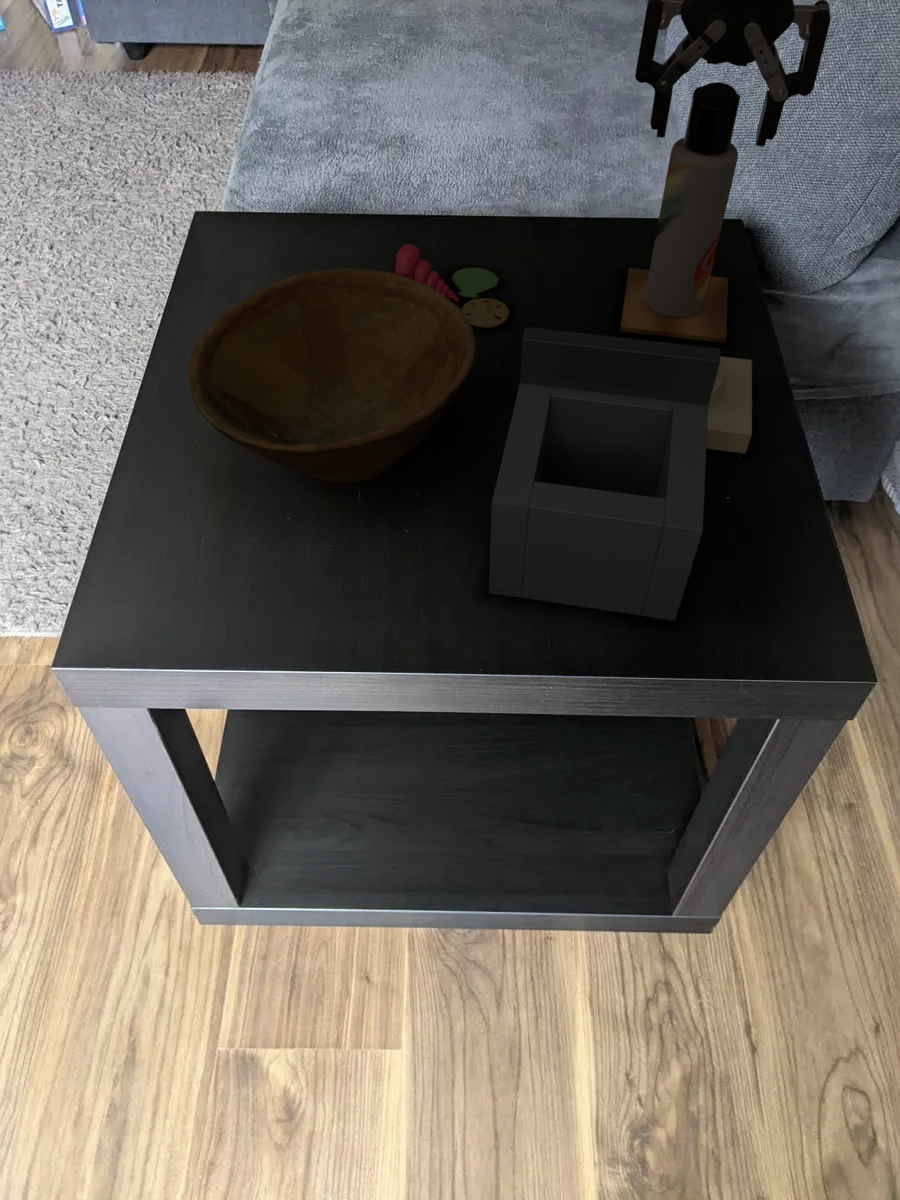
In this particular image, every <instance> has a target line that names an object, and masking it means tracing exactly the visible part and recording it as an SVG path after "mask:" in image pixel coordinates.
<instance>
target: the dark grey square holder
mask: <svg viewBox="0 0 900 1200" xmlns="http://www.w3.org/2000/svg"><path fill="white" fill-rule="evenodd" d="M521 343H522V344H521V345H522V346H521V356H520V357H521V358H520V359H521V360H520V374H519V384H518V390H517V394H516V399H515V402H514V407H513V411H512V415H511V420H510V423H509V428H508V432H507V435H506V441H505V444H504V450H503V453H502V457H501V462H500V466H499V470H498V475H497V479H496V483H495V488H494V492H493V495H492V499H491V519H490V542H489V543H490V547H489V569H488V571H489V573H488V575H489V576H488V594H493V595H499V596H507V597H513V598H519V599H520V598H522V599H528V600H535V601H541V602H548V603H553V604H554V603H555V604H561V605H568V606H574V607H581V608H589V609H594V610H599V611H600V610H602V611H608V612H614V613H621V614H628V615H635V616H641V617H648V618H653V619H661V620H667V621H673V622H674V621H676V620H677V617H678V613H679V610H680V606H681V603H682V599H683V596H684V593H685V590H686V587H687V584H688V581H689V577H690V574H691V571H692V567H693V565H694V560H695V557H696V555H697V551H698V548H699V545H700V541H701V538H702V534H703V531H704V515H705V514H704V513H705V511H704V510H705V491H706V489H705V488H706V468H707V467H706V466H707V465H706V464H707V449H706V448H707V425H708V404H709V401H710V398H711V394H712V390H713V387H714V383H715V379H716V376H717V372H718V368H719V364H720V356H721V351H722V350H721V348H719V347H718V348H717V347H710V346H709V347H708V346H699V345H691V344H681V343H672V342H662V341H654V340H646V339H635V338H628V337H619V336H609V335H603V334H602V335H601V334H593V333H583V332H575V331H574V332H573V331H565V330H558V329H557V330H556V329H548V328H537V327H528V326H526V327H525V328H524V331H523V336H522V342H521Z"/></svg>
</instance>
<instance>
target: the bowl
mask: <svg viewBox="0 0 900 1200" xmlns="http://www.w3.org/2000/svg"><path fill="white" fill-rule="evenodd" d="M476 344H477V343H476V339H475V333H474V329H473V327H472V325H471V324H470V322H469V320H468V318H467V317H466V316H465V314H464V313H463V312H462V308H460V307H459V306H458V305H457V304H456V303H454V302H453V301H451V300H449V299H448V298H447V297H446V296H444V295H442V294H440V293H438V292H437V291H436V290H434V289H432V288H430V287H428V286H426V285H425V284H422V283H419V282H417V281H414V280H412V279H410V278H407V277H404V276H401V275H398V274H395V272H394V273H393V272H390V271H385V270H377V269H369V268H368V269H367V268H350V267H348V268H347V267H346V268H333V269H320V270H315V271H310V272H304V273H298V274H294V275H291V276H288V277H285V278H283V279H281V280H278V281H275V282H273V283H271V284H269V285H268V286H265V287H263V288H261V289H259V290H258V291H256V292H254V293H252V294H250V295H248V296H247V297H245V298H243V299H241V300H240V301H239V302H238V303H236V304H235V305H234V306H232V307H230V308H229V309H228V310H227V311H226V312H225V313H223V314H222V315H221V316H219V317H218V318H217V319H216V320H215V321H214V322H213V324H212V326H211V327H210V328H207V329H206V330H204V332H203V333H202V334H201V336H200V337H199V339H198V341H197V344H196V345H195V346H194V348H193V350H192V352H191V354H190V355H191V356H190V358H189V361H188V367H187V368H188V369H187V380H188V384H189V387H190V394H191V396H192V399H193V402H194V404H195V406H196V408H197V409H198V411H199V413H200V415H201V416H202V417H203V418H204V420H206V421H207V422H208V423H209V425H211V427H213V429H215V430H216V431H217V432H218V433H220V434H221V435H222V436H224V437H225V438H227V439H228V440H230V441H232V442H234V443H235V444H237V445H239V446H241V447H243V448H245V449H247V450H249V451H251V452H253V453H255V454H257V455H259V456H260V457H263V458H265V459H267V460H269V461H271V462H274V463H276V464H277V465H280V466H282V467H284V468H286V469H288V470H292V471H294V472H296V473H301V474H305V475H309V476H312V477H314V478H316V479H317V480H320V481H321V482H325V483H335V484H336V483H337V484H338V483H341V484H355V483H360V482H364V481H368V480H370V479H371V480H372V479H373V478H375V477H377V476H379V475H381V474H383V473H384V472H386V471H387V470H388V469H389V468H390V467H392V466H394V464H395V463H396V462H398V460H399V459H400V458H402V457H403V456H404V455H405V454H407V453H408V452H410V450H411V451H412V449H413V448H415V447H416V446H417V445H419V444H420V443H421V442H422V441H423V440H424V439H425V438H426V436H427V435H428V434H429V432H430V431H431V430H432V429H433V427H435V425H436V424H437V423H438V421H439V420H440V419H441V418H442V417H443V416H444V414H445V413H446V411H448V409H449V408H450V406H452V404H453V403H454V402H455V400H456V399H457V397H458V396H459V394H460V393H461V391H462V389H463V388H464V386H465V384H466V382H467V381H468V379H469V377H470V375H471V373H472V372H473V369H474V365H475V361H476V355H477V347H476V346H477V345H476Z"/></svg>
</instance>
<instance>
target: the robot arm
mask: <svg viewBox="0 0 900 1200" xmlns="http://www.w3.org/2000/svg"><path fill="white" fill-rule="evenodd" d="M830 10H831V9H830V4H829V2H828V1H827V0H817V1H816V2H815V3H814V4H795V3H794V0H647V4H646V9H645V16H644V22H643V27H642V33H641V38H640V39H641V40H640V44H639V50H638V56H637V61H636V68H635V74H634V76H635V80H636V82H638V83H639V84H643V83H646V84H647V85H650V86H652V88H653V90H654V95H653V101H652V107H651V108H652V109H651V114H650V123H649V124H650V129H651V130H654V131H655V130H656V138H662V139H663V138H664V139H665V137H666V132H667V127H668V121H669V120H668V119H669V114H670V110H671V109H670V108H671V103H672V96H673V90H674V86H675V85H676V83H678V81H679V80H680V79H681V78H682V77H683V76H684V75H686V74H687V73H689V72H690V71H691V69H693V67H694V66H695V65H696V64H697V63H698V62H699V61H700V60H701V59H702V60H704V61H706V64H709V65H719V64H726V63H728V64H731V65H734V66H736V67H747V66H748V64H752V63H754V62H755V63H756V66H757V68H758V70H759V72H760V75H761V77H762V79H763V80H764V81H765V84H766V86H767V88H768V89H767V90H766V93H765V97H764V100H763V104H762V109H761V113H760V116H759V120H758V124H757V129H756V133H755V146H756V147H765V146H766V143H767V140H771V141H772V140H773V139H774V138H775V136H776V135H777V132H778V129H779V124H780V121H781V117H782V113H783V110H784V106H785V103H786V101H787V100H788V99H790V98H791V97H795V96H799V95H800V96H801V97H802V96H803V97H805V96H808V95H810V94H811V93H812V92H813V90H814V87H815V84H816V80H817V76H818V72H819V67H820V65H821V60H822V57H823V52H824V48H825V44H826V41H827V36H828V32H829V29H830V24H831V20H832V19H831V11H830ZM677 16H680V19H681V21H682V23H683V26H684V27H685V30H686V31H687V34H686V35H685V36H684V37H683V39H682V40H681V41H680V42H679V43H678V44H677V46H676V48H675V50H674V51H673V52H672V54H670V56H668V58H667V59H666V60H665V61H664V62H663V64H662V63H660V62H658V61H656V60H654V57H655V54H656V53H655V52H656V46H657V41H658V37H659V36H658V35H659V31H663V30H666V29H668V28H669V26H670V24H671V22H672V20H673V19H674V18H675V17H677ZM792 24H796V26H797V27H798V36H799V38H800V39H801V40H804V43H803V46H802V50H801V51H802V52H801V56H800V59H799V63H798V68H797V71H793V72H790V73H786V70H785V68H784V66H783V63H782V61H781V59H780V55H779V52H778V48H777V47H776V44H775V42H776V41H777V40H778V39H779V38H780V37H781V36H782V35H783V34H784V33H785V32H786V31H787V30H788V29H789V28H790V26H792Z"/></svg>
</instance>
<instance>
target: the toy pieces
mask: <svg viewBox="0 0 900 1200" xmlns="http://www.w3.org/2000/svg"><path fill="white" fill-rule="evenodd" d="M395 258H396V263H395V264H396V265H395V269H394V274H398V275H401V276H404V277H407V278H410V279H412V280H414V281H417V282H419V283H422V284H425V285H426V286H428V287H430V288H432V289H434V290H436V291H437V292H438V293H440V294H442V295H444V296H446V297H447V298H448V299H449V300H450V301H451V302H453V301H454V302H456V303H457V302H460V297H463V298H468V299H471V300H469V301H468V302H466V303H465V304H463V305H462V307H461V310H462V312H463V313H464V314H465V316H466V317H467V318H468V320H469V322H470V324H471V326H473V327H476V328H483V329H484V328H485V329H491V328H496V327H498V326H501V325H503V324H504V323H505V322H506V321H507V320H508V317H509V316H510V309H509V308H508V306H507V305H506V303H504V302H502V301H500V300H498V299H494V298H490V297H484V298H483V297H482V298H481V297H479V294H481V293H485V292H487V291H489V290H492V289H494V288H496V287H497V286H498V283H499V280H500V278H499V277H498V276H497V275H496V273H495V272H493V271H490V270H489V269H486V268H483V267H472V266H471V267H463V268H462V269H459V270H456V271H455V272H454V273H453V275H452V276H451V277H450V278H451V281H452V282H453V284H454V285H455V286H456V287H457V289H458V290H460V291H458V292H456V293H457V294H456V293H455V292H454V291H453V290H452V289H451V288H450V286H449V284H446V282H445V280H444V279H443V278H440V275H439V273H438V271H437V270H432V268H433V267H432V264H431V262H430V261H428V260H426V259H424V258H421V250H420V249H419V248H418V246H417V245H414V244H410V243H406V244H403V245H402V246H401V248H400V249H399V250H398V252H397V253H396V255H395ZM458 296H459V297H458Z"/></svg>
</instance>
